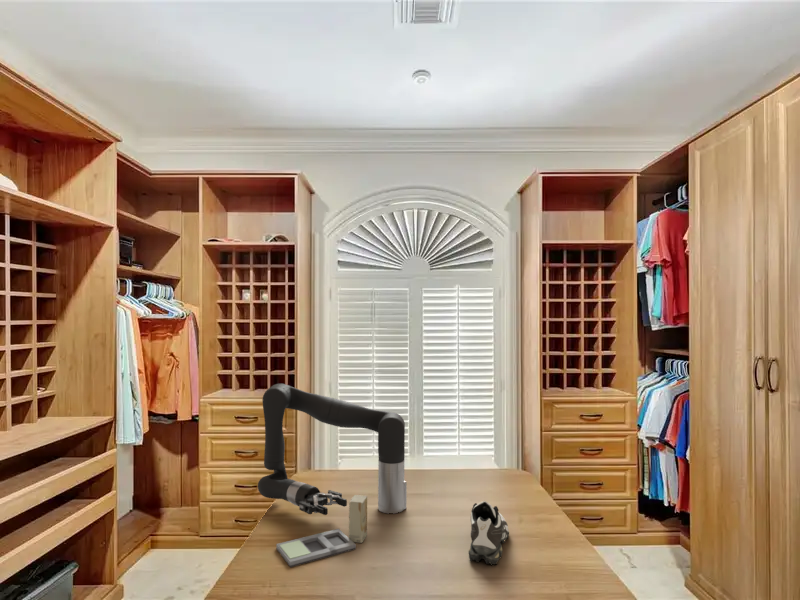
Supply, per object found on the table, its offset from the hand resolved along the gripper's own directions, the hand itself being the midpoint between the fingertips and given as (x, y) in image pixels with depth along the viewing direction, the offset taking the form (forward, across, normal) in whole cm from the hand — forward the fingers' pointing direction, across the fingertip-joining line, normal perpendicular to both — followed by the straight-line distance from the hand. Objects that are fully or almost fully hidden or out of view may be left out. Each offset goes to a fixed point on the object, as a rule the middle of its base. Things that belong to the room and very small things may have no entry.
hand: (336, 507), depth 161 cm
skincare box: (+9, 0, +8) cm, 12 cm away
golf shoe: (+42, +23, +8) cm, 49 cm away
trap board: (+4, -13, +7) cm, 15 cm away
